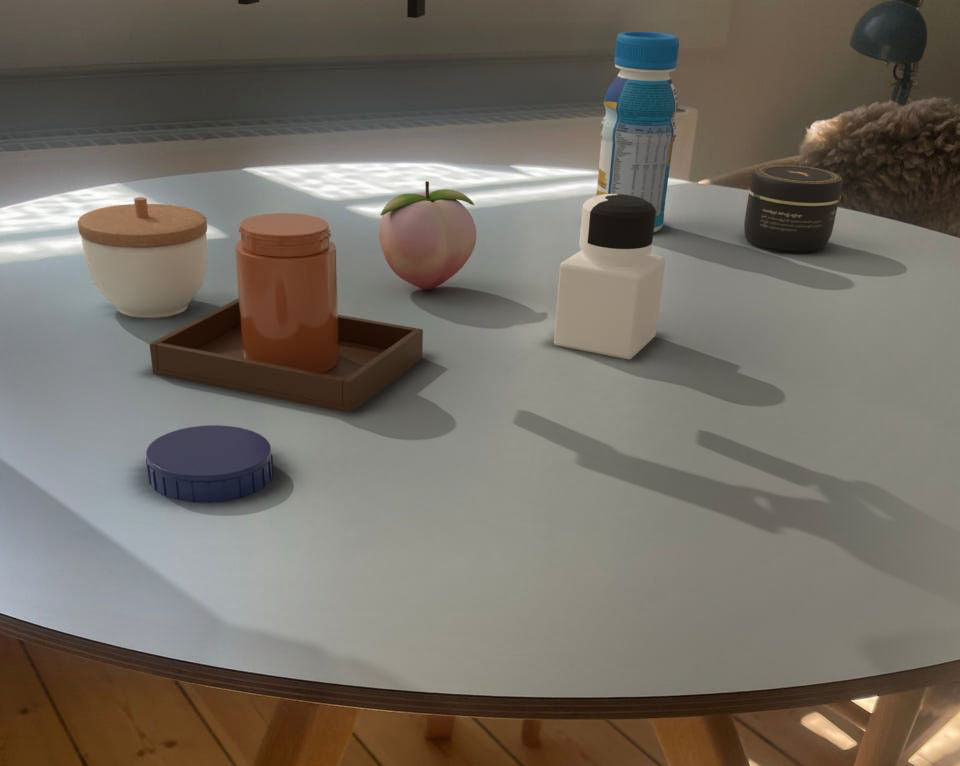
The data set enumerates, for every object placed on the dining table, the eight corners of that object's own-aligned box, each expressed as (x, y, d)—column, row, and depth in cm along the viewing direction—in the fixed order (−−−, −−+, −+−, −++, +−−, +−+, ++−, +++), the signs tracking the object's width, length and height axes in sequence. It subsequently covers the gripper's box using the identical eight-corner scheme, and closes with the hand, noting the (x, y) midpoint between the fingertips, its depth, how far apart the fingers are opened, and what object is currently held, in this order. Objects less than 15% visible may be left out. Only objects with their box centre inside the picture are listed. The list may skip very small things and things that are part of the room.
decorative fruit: (439, 272, 117) (441, 167, 111) (487, 293, 111) (492, 184, 106) (359, 285, 112) (357, 176, 106) (406, 308, 107) (406, 195, 101)
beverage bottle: (630, 240, 130) (652, 41, 119) (576, 224, 135) (592, 31, 124) (678, 229, 135) (704, 37, 124) (624, 214, 140) (644, 28, 129)
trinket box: (153, 335, 98) (139, 220, 92) (64, 310, 102) (46, 199, 97) (238, 305, 105) (230, 197, 100) (152, 282, 110) (140, 178, 105)
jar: (753, 228, 137) (764, 159, 133) (838, 241, 134) (852, 171, 129) (730, 247, 130) (741, 175, 125) (819, 261, 126) (834, 187, 122)
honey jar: (224, 367, 91) (213, 228, 85) (273, 338, 97) (265, 206, 91) (310, 383, 89) (305, 242, 83) (355, 353, 95) (352, 219, 89)
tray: (152, 374, 90) (148, 343, 89) (241, 325, 101) (239, 297, 99) (350, 414, 85) (349, 381, 84) (422, 358, 96) (423, 329, 94)
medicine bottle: (656, 337, 103) (674, 196, 96) (630, 361, 97) (648, 213, 91) (581, 323, 105) (594, 184, 98) (552, 346, 100) (563, 201, 93)
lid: (292, 487, 75) (291, 461, 74) (173, 514, 71) (170, 486, 70) (245, 442, 80) (243, 416, 79) (132, 464, 77) (128, 438, 76)
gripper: (514, -328, 80) (496, 17, 92) (175, -341, 84) (199, -6, 95) (495, -346, 74) (478, 26, 86) (130, -359, 78) (161, 1, 89)
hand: (331, 10), depth 91 cm, fingers open, 13 cm apart
